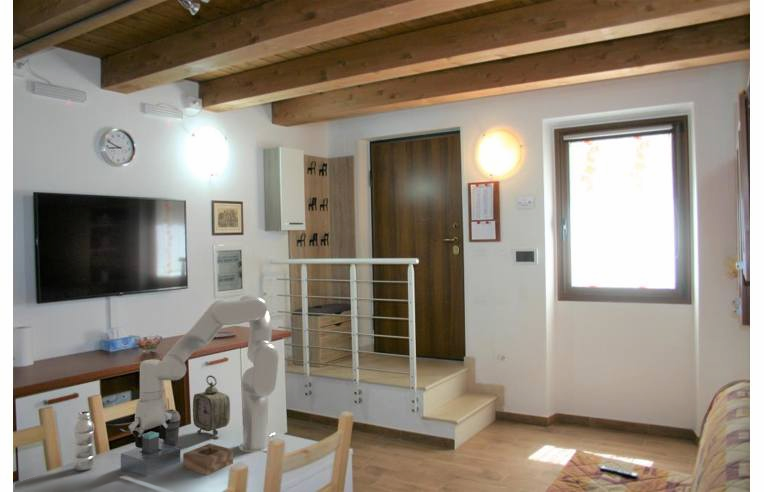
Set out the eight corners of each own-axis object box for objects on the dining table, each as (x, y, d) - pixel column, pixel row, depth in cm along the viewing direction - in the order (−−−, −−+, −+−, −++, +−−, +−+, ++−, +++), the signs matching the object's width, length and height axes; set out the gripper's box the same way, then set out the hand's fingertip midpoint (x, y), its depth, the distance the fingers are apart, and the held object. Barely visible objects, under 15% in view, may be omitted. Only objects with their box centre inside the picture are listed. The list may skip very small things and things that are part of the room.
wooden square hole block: (209, 459, 208) (209, 443, 208) (233, 466, 202) (233, 449, 202) (183, 470, 198) (183, 453, 198) (207, 478, 192) (207, 460, 192)
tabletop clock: (192, 434, 235) (192, 374, 235) (211, 428, 242) (211, 371, 242) (212, 442, 226) (212, 380, 226) (231, 436, 233) (231, 376, 233)
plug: (151, 461, 203) (151, 431, 203) (158, 463, 201) (158, 433, 201) (141, 465, 200) (141, 434, 200) (149, 467, 198) (149, 436, 198)
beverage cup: (173, 454, 213) (174, 401, 213) (156, 452, 214) (156, 400, 214) (184, 447, 220) (184, 396, 220) (167, 446, 221) (167, 395, 221)
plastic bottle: (87, 464, 203) (87, 409, 203) (98, 468, 200) (98, 412, 199) (69, 470, 197) (69, 413, 197) (80, 474, 194) (80, 416, 194)
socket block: (154, 457, 210) (154, 441, 210) (180, 465, 203) (180, 448, 203) (120, 470, 198) (120, 453, 198) (146, 478, 191) (146, 461, 191)
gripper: (164, 388, 209) (164, 434, 210) (122, 399, 194) (122, 448, 195) (178, 391, 206) (178, 437, 206) (136, 402, 191) (136, 452, 191)
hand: (151, 443), depth 200 cm, fingers open, 9 cm apart
